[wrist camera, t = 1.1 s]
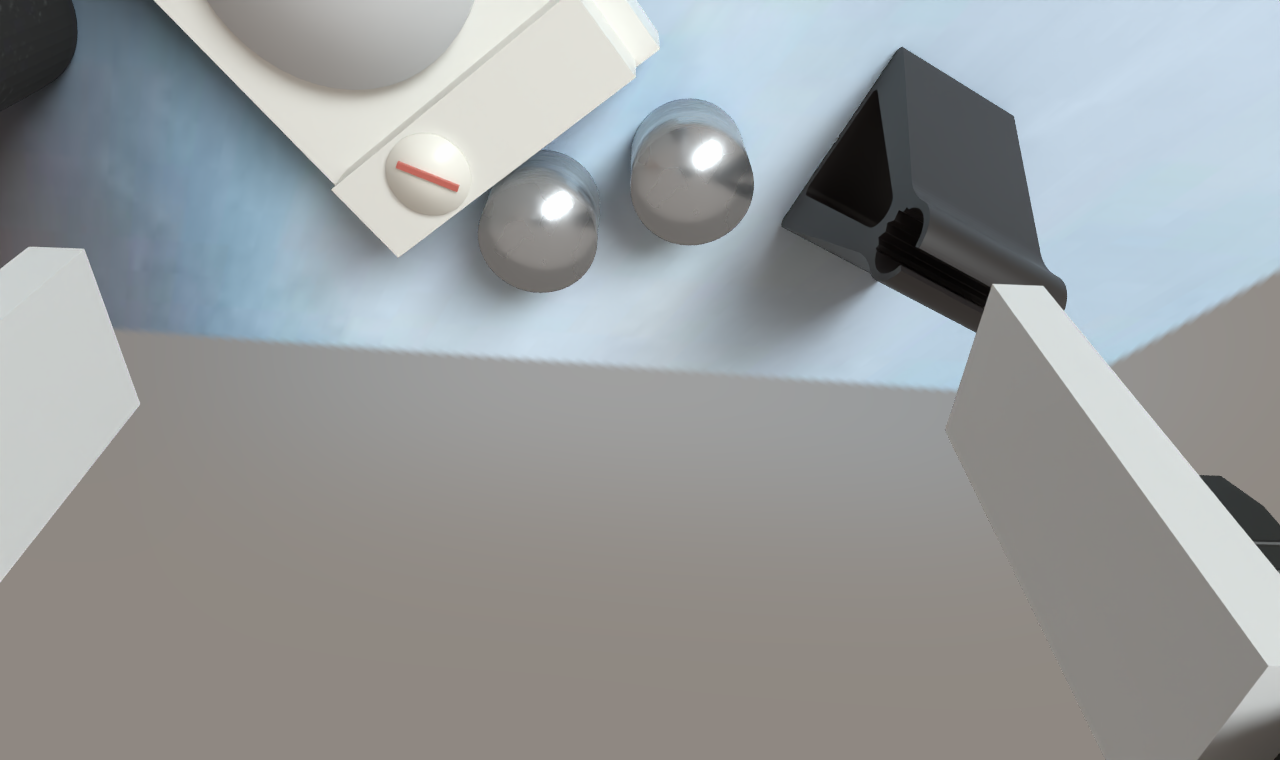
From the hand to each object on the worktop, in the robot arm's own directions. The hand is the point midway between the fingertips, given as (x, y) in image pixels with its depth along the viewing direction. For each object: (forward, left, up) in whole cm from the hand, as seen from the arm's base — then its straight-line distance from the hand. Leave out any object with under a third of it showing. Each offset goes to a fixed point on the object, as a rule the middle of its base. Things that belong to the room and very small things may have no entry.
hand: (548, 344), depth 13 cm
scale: (-6, -6, -26) cm, 27 cm away
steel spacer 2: (+7, -1, -26) cm, 27 cm away
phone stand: (+13, +6, -26) cm, 30 cm away
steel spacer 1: (+5, -7, -26) cm, 27 cm away
